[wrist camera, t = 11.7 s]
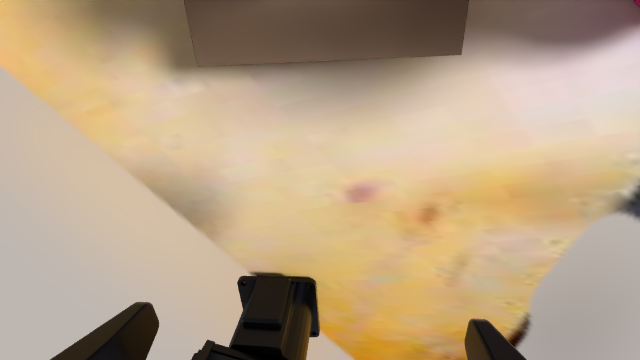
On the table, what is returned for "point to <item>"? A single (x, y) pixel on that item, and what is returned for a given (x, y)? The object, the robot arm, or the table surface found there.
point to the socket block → (323, 30)
